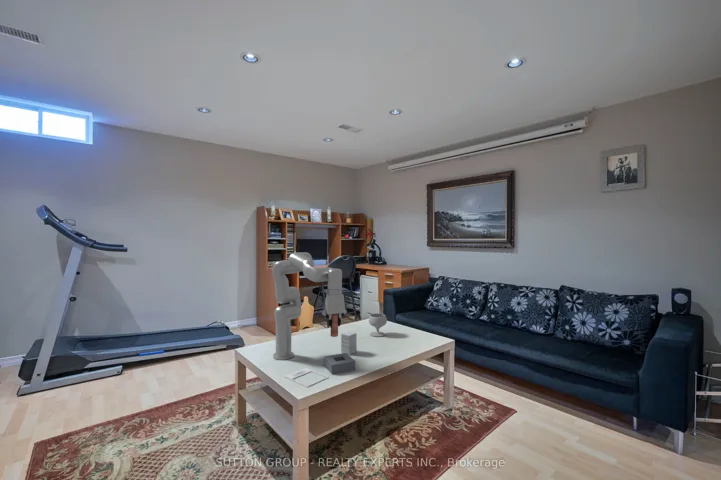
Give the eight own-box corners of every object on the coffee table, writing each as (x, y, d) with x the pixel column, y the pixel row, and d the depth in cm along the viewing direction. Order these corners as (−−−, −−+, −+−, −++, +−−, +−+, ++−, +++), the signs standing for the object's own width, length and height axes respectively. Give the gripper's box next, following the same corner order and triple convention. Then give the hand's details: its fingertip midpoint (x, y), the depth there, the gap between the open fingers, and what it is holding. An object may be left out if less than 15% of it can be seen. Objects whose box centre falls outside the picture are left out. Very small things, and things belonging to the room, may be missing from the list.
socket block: (323, 364, 184) (323, 356, 184) (346, 361, 189) (346, 352, 189) (331, 374, 171) (331, 365, 171) (355, 370, 177) (355, 361, 177)
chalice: (367, 332, 249) (367, 313, 249) (384, 331, 251) (384, 312, 251) (370, 337, 235) (370, 317, 235) (388, 337, 238) (389, 317, 238)
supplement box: (348, 349, 209) (348, 330, 209) (356, 352, 205) (356, 332, 205) (340, 352, 204) (340, 333, 204) (349, 355, 199) (349, 335, 199)
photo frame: (306, 367, 178) (328, 376, 167) (306, 369, 178) (328, 378, 167) (284, 375, 167) (307, 386, 155) (284, 378, 167) (307, 388, 155)
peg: (329, 335, 170) (329, 309, 170) (336, 334, 171) (336, 308, 171) (331, 337, 166) (332, 310, 166) (339, 336, 168) (339, 310, 168)
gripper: (321, 294, 162) (321, 329, 162) (351, 292, 169) (351, 326, 169) (317, 291, 169) (317, 325, 169) (346, 290, 175) (346, 322, 175)
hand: (334, 325), depth 169 cm, fingers closed on peg, 4 cm apart
